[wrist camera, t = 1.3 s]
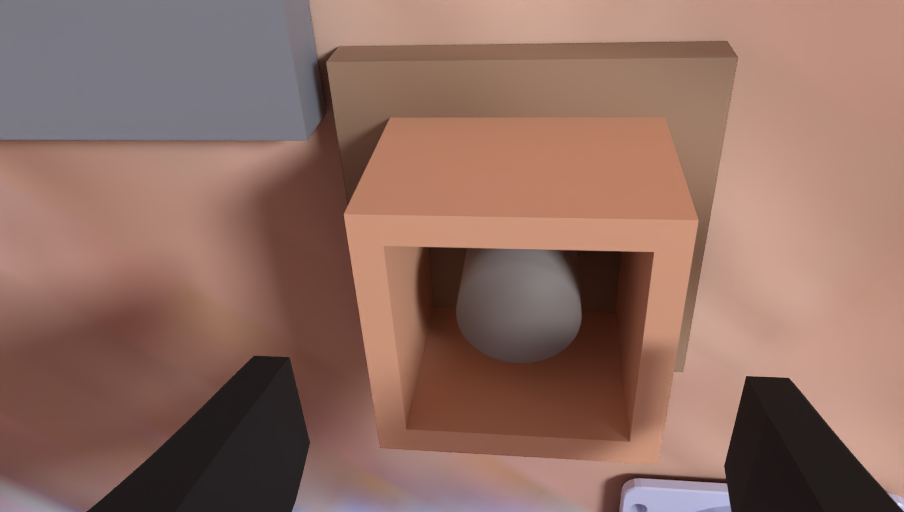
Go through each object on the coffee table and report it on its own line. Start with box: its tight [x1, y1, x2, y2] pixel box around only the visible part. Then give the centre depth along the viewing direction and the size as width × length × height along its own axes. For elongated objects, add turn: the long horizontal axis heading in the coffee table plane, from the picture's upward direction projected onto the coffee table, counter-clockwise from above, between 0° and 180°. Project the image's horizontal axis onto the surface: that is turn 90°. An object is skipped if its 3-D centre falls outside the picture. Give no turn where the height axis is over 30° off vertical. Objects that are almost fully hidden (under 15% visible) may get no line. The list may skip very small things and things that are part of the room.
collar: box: [344, 117, 699, 464], centre depth 14 cm, size 6×6×4 cm
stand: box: [326, 41, 738, 372], centre depth 15 cm, size 8×8×4 cm
